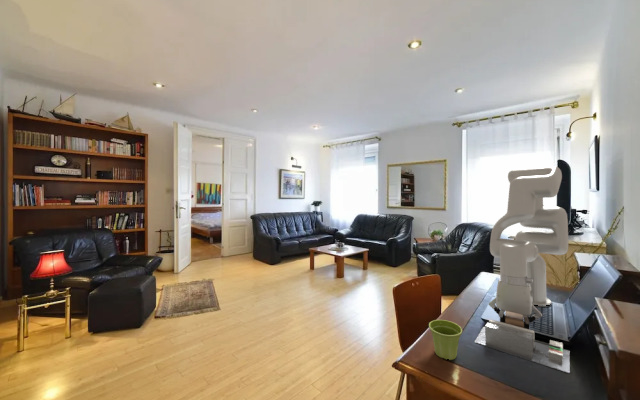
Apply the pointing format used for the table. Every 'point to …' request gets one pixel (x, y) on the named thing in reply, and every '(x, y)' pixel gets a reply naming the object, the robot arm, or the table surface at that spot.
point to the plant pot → (445, 338)
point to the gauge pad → (521, 331)
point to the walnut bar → (514, 319)
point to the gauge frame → (524, 346)
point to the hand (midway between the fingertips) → (514, 329)
